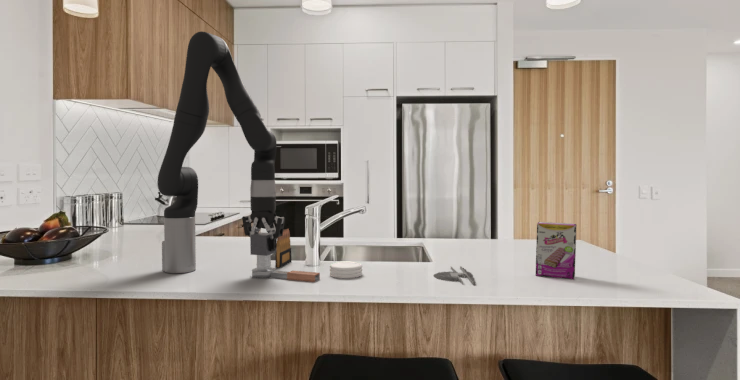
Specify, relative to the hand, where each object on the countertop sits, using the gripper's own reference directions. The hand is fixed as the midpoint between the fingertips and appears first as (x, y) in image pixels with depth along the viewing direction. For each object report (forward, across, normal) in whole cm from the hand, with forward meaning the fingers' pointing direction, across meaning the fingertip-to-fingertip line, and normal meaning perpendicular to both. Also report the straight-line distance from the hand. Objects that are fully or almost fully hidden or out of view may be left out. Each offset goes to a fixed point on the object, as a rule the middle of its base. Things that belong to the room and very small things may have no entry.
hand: (263, 250), depth 141 cm
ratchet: (+8, +7, 0) cm, 11 cm away
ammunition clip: (+8, -3, +17) cm, 19 cm away
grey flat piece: (+9, +56, +20) cm, 60 cm away
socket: (+1, 0, 0) cm, 1 cm away
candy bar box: (+8, +84, +31) cm, 90 cm away
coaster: (+8, +23, +10) cm, 26 cm away
